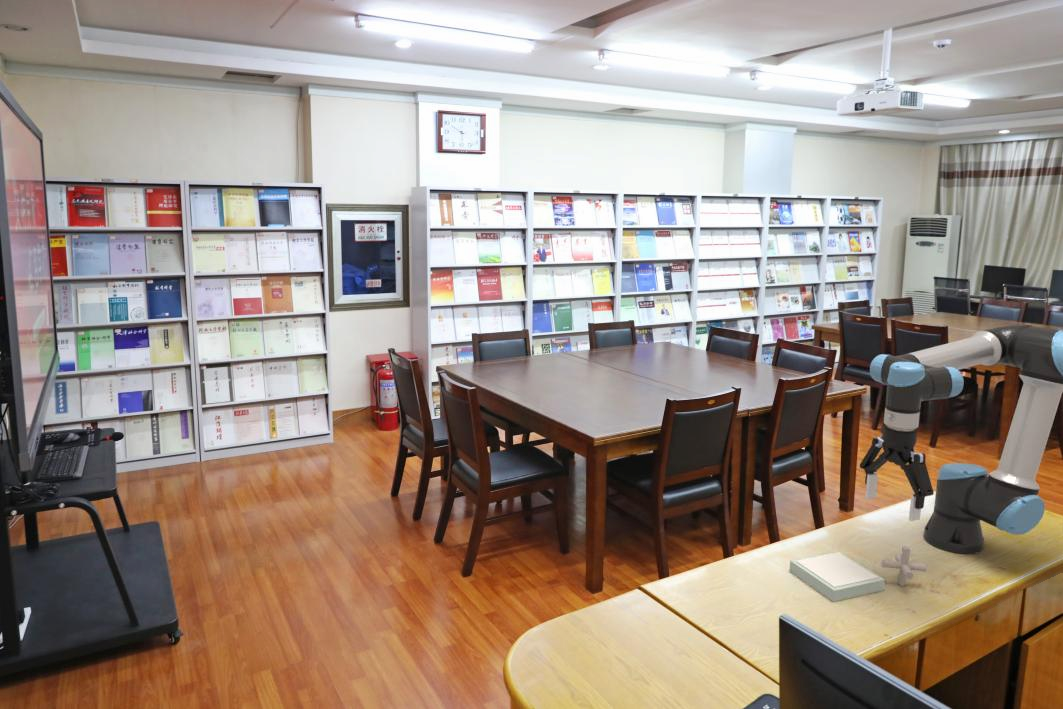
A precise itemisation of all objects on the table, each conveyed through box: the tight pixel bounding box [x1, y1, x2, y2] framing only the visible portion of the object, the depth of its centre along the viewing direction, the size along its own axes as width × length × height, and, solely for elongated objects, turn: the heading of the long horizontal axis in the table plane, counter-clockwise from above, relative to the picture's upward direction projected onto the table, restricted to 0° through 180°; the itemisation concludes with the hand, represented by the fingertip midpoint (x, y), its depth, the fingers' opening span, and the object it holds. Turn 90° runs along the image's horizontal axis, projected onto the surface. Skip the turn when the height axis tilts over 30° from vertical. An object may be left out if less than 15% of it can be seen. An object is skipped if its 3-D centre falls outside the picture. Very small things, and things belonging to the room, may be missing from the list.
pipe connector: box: [881, 545, 927, 587], centre depth 189 cm, size 10×10×10 cm
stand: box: [788, 550, 886, 603], centre depth 191 cm, size 16×16×3 cm
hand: (891, 508), depth 183 cm, fingers open, 13 cm apart
